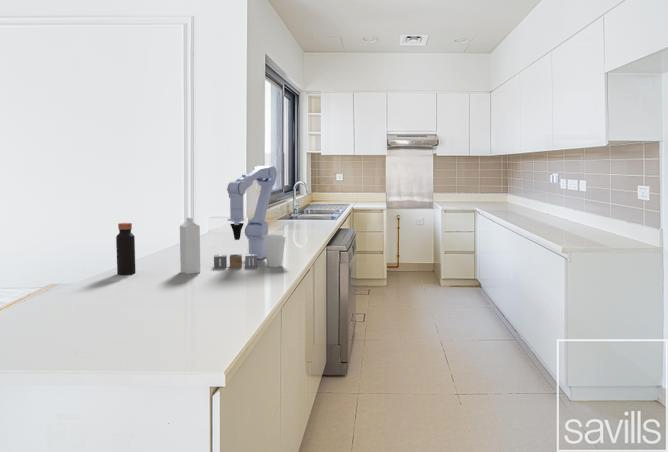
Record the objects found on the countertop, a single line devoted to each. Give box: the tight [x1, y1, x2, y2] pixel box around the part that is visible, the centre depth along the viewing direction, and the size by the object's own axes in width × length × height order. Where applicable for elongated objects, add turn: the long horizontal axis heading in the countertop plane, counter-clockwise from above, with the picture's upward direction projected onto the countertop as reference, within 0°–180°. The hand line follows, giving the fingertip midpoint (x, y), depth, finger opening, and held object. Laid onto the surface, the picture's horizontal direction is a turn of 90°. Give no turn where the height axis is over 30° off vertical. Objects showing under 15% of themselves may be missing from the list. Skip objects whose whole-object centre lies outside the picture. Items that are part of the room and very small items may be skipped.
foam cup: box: [264, 234, 286, 268], centre depth 243 cm, size 10×9×13 cm
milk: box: [179, 217, 201, 275], centre depth 226 cm, size 6×6×22 cm
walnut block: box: [229, 253, 243, 269], centre depth 241 cm, size 5×5×5 cm
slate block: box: [244, 253, 258, 269], centre depth 242 cm, size 5×5×5 cm
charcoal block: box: [213, 254, 228, 269], centre depth 240 cm, size 5×5×5 cm
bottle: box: [115, 222, 136, 276], centre depth 222 cm, size 7×7×20 cm
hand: (237, 239), depth 249 cm, fingers closed
